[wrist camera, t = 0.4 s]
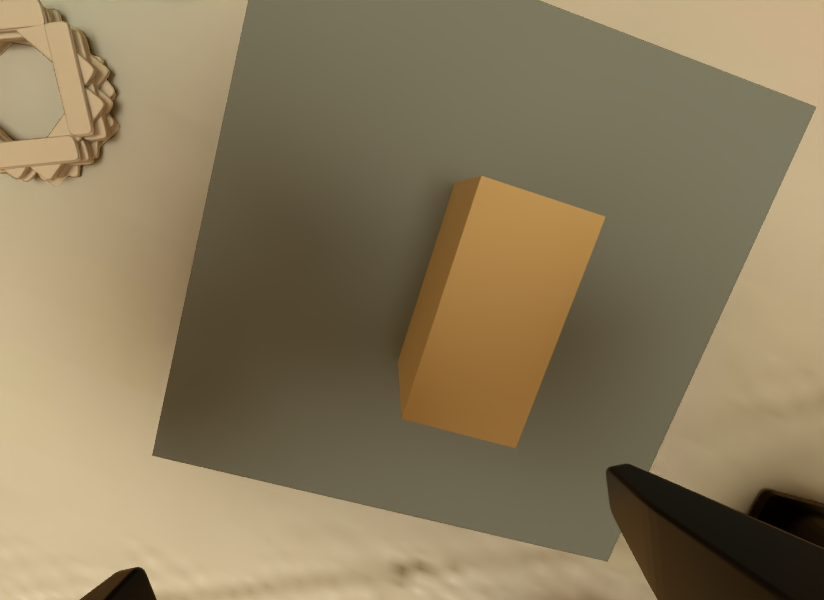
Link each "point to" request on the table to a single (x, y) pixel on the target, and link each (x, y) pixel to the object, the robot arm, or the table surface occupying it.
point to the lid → (464, 258)
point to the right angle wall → (79, 89)
